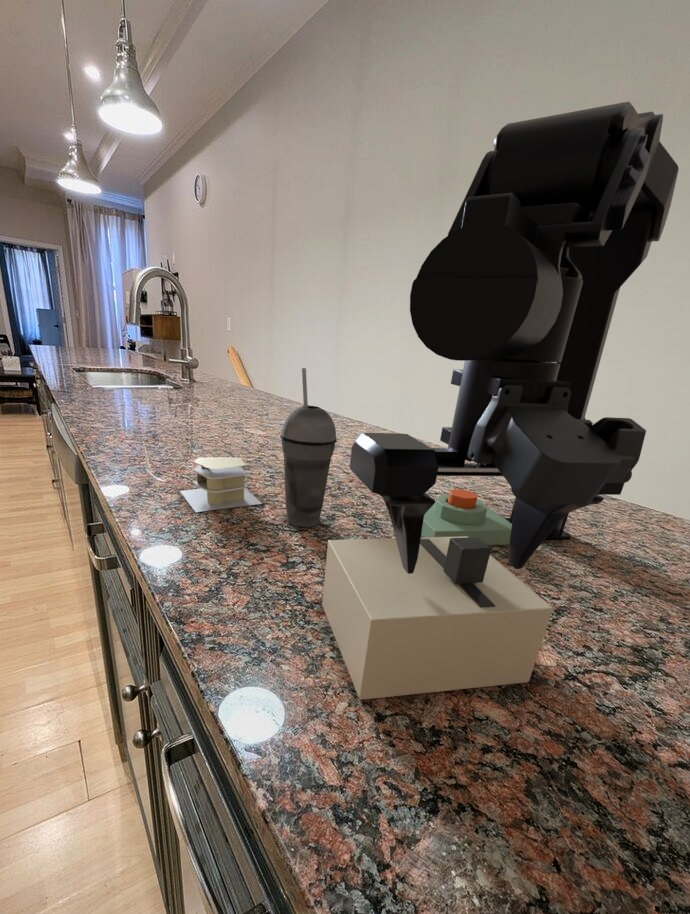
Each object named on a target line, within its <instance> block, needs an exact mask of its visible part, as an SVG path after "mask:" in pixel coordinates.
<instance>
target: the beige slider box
mask: <svg viewBox="0 0 690 914" xmlns="http://www.w3.org/2000/svg"><path fill="white" fill-rule="evenodd" d="M450 538H469V537H468V536H461V537H425V538H423V537H421V540H420V547H419V553H418V559H417V563H416V566H415V569H414V572H413V574H408V573H407V572H406V571H405V570H404V568H403V565H402V561H401V557H400V553H399V549H398V545H397V541H396V537H393V538H363V539H362V538H361V539H360V538H358V539H357V538H356V539H355V538H353V539H352V538H351V539H328V541H327V549H326V559H325V569H324V570H325V571H324V581H323V590H322V591H323V592H322V601H321V605H322V608H323V610H324V613H325V616H326V618H327V620H328V624H329V626H330V628H331V631H332V633H333V636H334V639H335V641H336V644H337V646H338V649H339V651H340V654H341V656H342V659H343V661H344V664H345V666H346V669H347V672H348V674H349V677H350V679H351V682H352V684H353V687H354V689H355V692H356V694H357V697H358V699H359V700H360V701H363V700H373V699H381V698H391V697H401V696H411V695H419V694H429V693H439V692H449V691H457V690H465V689H466V690H467V689H477V688H486V687H496V686H505V685H515V684H516V685H517V684H526V683H529V682H530V680H531V676H532V674H533V671H534V667H535V664H536V662H537V659H538V655H539V652H540V651H541V650H540V649H541V646H542V643H543V640H544V637H545V634H546V632H547V628H548V626H549V624H550V623H549V622H550V620H551V618H552V614H553V611H554V607H553V606H551V605H550V604H549V602H547V601H545V600H544V599H543V598H542V597H541V596H539V595H538V594H537V593H536V592H535V591H534V590H532V589H531V588H530V587H529V586H528V585H526V584H525V583H524V582H523V581H522V580H521V579H519V577H517V576H516V575H514V574H513V573H512V572H511V571H510V570H509V569H508V568H506V567H505V566H504V565H503V564H502V563H500V561H498V560H496V559H495V558H494V557H493V555H491V554H490V556H489V560H488V564H487V568H486V572H485V576H484V580H483V582H482V583H465V584H455V583H454V582H453V581H452V580H451V579H450V578H449V577H448V576H447V575H446V574H445V572H444V571H443V570H444V565H445V560H446V556H447V551H448V546H449V541H450Z"/></svg>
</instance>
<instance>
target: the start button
mask: <svg viewBox="0 0 690 914" xmlns="http://www.w3.org/2000/svg"><path fill="white" fill-rule="evenodd" d="M448 495H449V498H448V504H450V505H452V506H455V507H458V508H464V509H474V508H475V506H476V501H477V500H478V496H479V495H478V494H476V493H475V492H474V491H470V490H466V489H461V488H459V489H458V488H456V489H451V490H450V491H449V494H448Z"/></svg>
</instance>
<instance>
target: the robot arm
mask: <svg viewBox="0 0 690 914" xmlns="http://www.w3.org/2000/svg"><path fill="white" fill-rule="evenodd" d="M663 122H664V113H659V114H655V112H654V111H646V112H641V113H638V112H637V110H636V109H635V106H634V105H633V104H632V103H631V102H630V101H624V102H619V103H613V104H607V105H601V106H597V107H591V108H586V109H580V110H574V111H569V112H564V113H558V114H554V115H553V114H552V115H547V116H542V117H537V118H532V119H526V120H521V121H514V122H510V123H507V124H505V125H504V126H503V127H501V129H500V130H499V131H498V133H497V134H496V136H495V137H494V138H493V139H494V140H493V148H494V150H489V151H488V152H486V153H485V155H484V157H483V158H482V160H481V162H480V165H479V167H478V169H477V171H476V173H475V175H474V177H473V179H472V181H471V183H470V185H469V188H468V190H467V192H466V194H465V196H464V198H463V201H462V203H461V204H460V207H459V209H458V211H457V213H456V215H455V218H454V219H453V222H452V223H451V226H450V229H449V231H448V232H447V236H446V237H444V238H442V240H440V241H439V243H438V244H437V245H436V246H434V247H433V248H432V250H431V251H430V252H429V254H428V255H427V256H426V258H425V259H424V261H423V263H422V264H421V266H420V268H419V271H418V273H417V275H416V277H415V279H413V281H412V283H411V288H410V294H409V313H410V319H411V323H412V327H413V329H414V331H415V334H416V335H417V337H418V339H419V340H420V341H421V342H422V344H423V345H424V346H425V347H426V348H427V349H428V350H429V351H431V352H432V353H434V354H435V355H437V356H439V357H441V358H444V359H447V360H451V361H461V362H462V361H463V362H464V363H463V369H458V368H457V369H455V368H453V369H452V374H451V378H450V385H453V386H457V387H459V389H458V394H457V398H456V404H455V408H454V414H453V419H452V425H451V426H442V427H441V432H440V438H439V441H440V442H442V443H444V444H446V445H447V448H445V447H431V446H429V445H427V444H425V443H423V442H422V441H420V440H419V439H417V438H415V437H414V436H411V435H410V434H408V433H395V432H393V433H392V432H391V433H390V432H362V433H361V434H360V435H359V436H358V437H357V438H356V439H355V441H354V442H353V444H352V445H351V450H350V451H351V453H350V459H349V460H350V461H349V470H350V471H351V472H352V473H353V474H354V475H355V476H356V478H357V479H359V480H360V482H362V484H363V485H365V487H366V488H367V489H368V490H369V491H370V492H371V493H372V494H376V495H379V496H380V497H381V498H382V499H383V501H384V504H385V506H386V509H387V512H388V514H389V518H390V522H391V525H392V529H393V533H394V538H396V541H397V545H398V549H399V553H400V557H401V561H402V565H403V568H404V570H405V571H406V572H407V573H408V574H413V572H414V569H415V566H416V563H417V559H418V553H419V547H420V540H421V538H422V536H421V533H422V526H423V520H424V515H425V513H426V512H427V511H428V510H429V509H430V508H431V507H432V506H433V505H434V504H435V502H436V500H435V499H434V498H433V497H431V496H430V495H429V494H428V493H427V492H428V491H429V490H430V489H432V487H434V485H436V482H437V478H438V477H503V478H504V479H505V481H506V482H507V483H508V485H509V486H510V489H511V490H510V491H511V493H512V494H513V496H514V497H515V498H514V502H513V504H512V505H513V506H512V510H511V514H510V517H504V519H505V520H507V521H508V522H510V523H511V524H512V527H511V535H510V542H509V544H508V564H509V566H510V567H512V569H514V570H520V569H522V568H523V567H524V566H525V565H526V564H527V562H528V561H529V559H530V558H531V557H533V555H534V553H535V552H536V551H537V549H539V547H540V546H541V545H542V543H543V542H544V541H547V540H571V538H572V534H571V533H569V532H568V531H565V527H566V524H567V520H568V518H569V514H570V513H572V512H575V511H577V510H579V509H582V508H585V507H588V506H591V505H598V504H601V503H602V502H603V501H604V500H605V498H604V496H609V495H610V496H611V495H612V496H613V495H614V496H615V495H617V496H621V495H622V492H623V488H624V486H625V483H628V482H629V481H630V480H631V479H632V476H633V472H632V471H633V470H634V469H635V467H636V466H637V464H638V463H639V460H640V457H641V454H642V449H643V446H644V441H645V439H646V438H645V437H646V433H647V430H646V429H645V428H644V427H643V426H641V425H640V424H639V423H638V422H636V421H635V420H634V419H632V418H631V417H612V416H611V417H609V416H607V417H606V416H605V417H602V418H600V419H598V421H596V422H595V423H594V422H593V421H591V420H590V419H586V415H587V410H588V406H589V404H590V399H591V397H592V392H593V389H594V385H595V382H596V378H597V374H598V370H599V367H600V363H601V359H602V356H603V352H604V348H605V344H606V341H607V338H608V334H609V330H610V327H611V323H612V319H613V316H614V312H615V307H616V304H617V301H618V297H619V294H620V290H621V287H622V286H623V285H624V283H626V282H627V280H628V279H629V278H631V276H632V275H633V274H634V273H635V271H637V269H638V268H639V267H640V266H641V265H642V264H643V262H644V261H645V260H646V258H648V254H649V251H650V248H651V245H652V243H653V242H660V239H661V237H662V234H663V231H664V229H665V225H666V222H667V219H668V216H669V212H670V209H671V205H672V202H673V198H674V193H675V188H676V183H677V180H678V174H679V165H678V163H677V162H676V161H675V159H674V158H673V157H672V156H671V154H670V153H669V152H668V150H667V149H666V148H665V146H664V145H663V144H662V142H661V139H660V138H661V134H662V128H663V127H662V126H663ZM468 462H469V463H468ZM471 462H473V463H471Z"/></svg>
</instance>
